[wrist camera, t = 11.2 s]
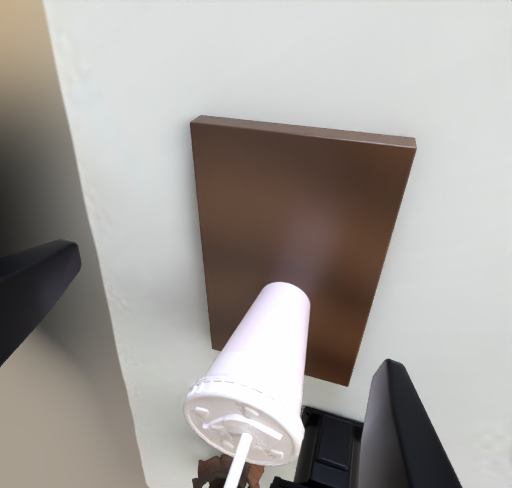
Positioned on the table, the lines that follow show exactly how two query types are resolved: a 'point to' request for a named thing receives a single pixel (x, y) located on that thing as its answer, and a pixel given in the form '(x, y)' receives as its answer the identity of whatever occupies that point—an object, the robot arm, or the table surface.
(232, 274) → the board
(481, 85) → the table surface
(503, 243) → the table surface
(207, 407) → the smoothie
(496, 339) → the table surface
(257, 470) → the brown irregular piece
